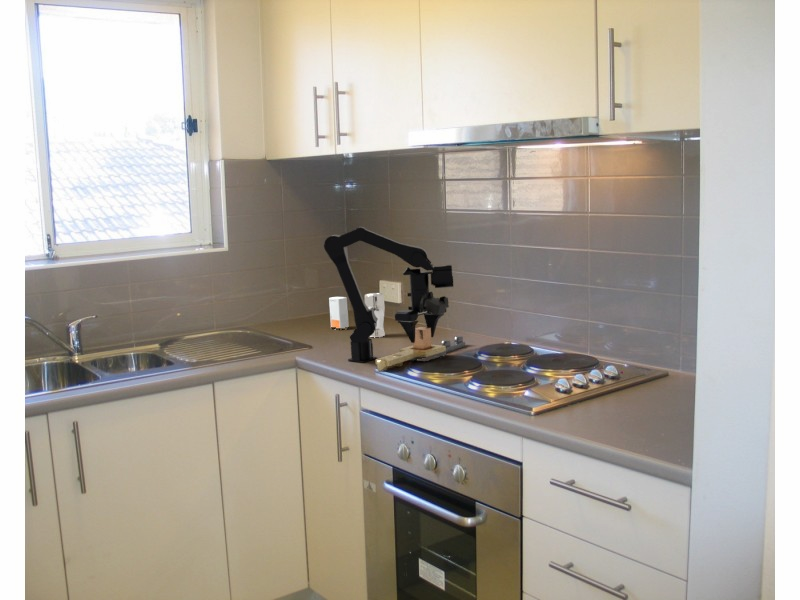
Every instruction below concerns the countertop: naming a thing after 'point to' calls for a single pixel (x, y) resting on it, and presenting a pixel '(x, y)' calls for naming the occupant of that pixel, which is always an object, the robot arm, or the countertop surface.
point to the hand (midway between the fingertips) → (422, 339)
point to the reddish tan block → (422, 338)
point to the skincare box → (338, 312)
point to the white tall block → (376, 311)
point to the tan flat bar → (419, 353)
